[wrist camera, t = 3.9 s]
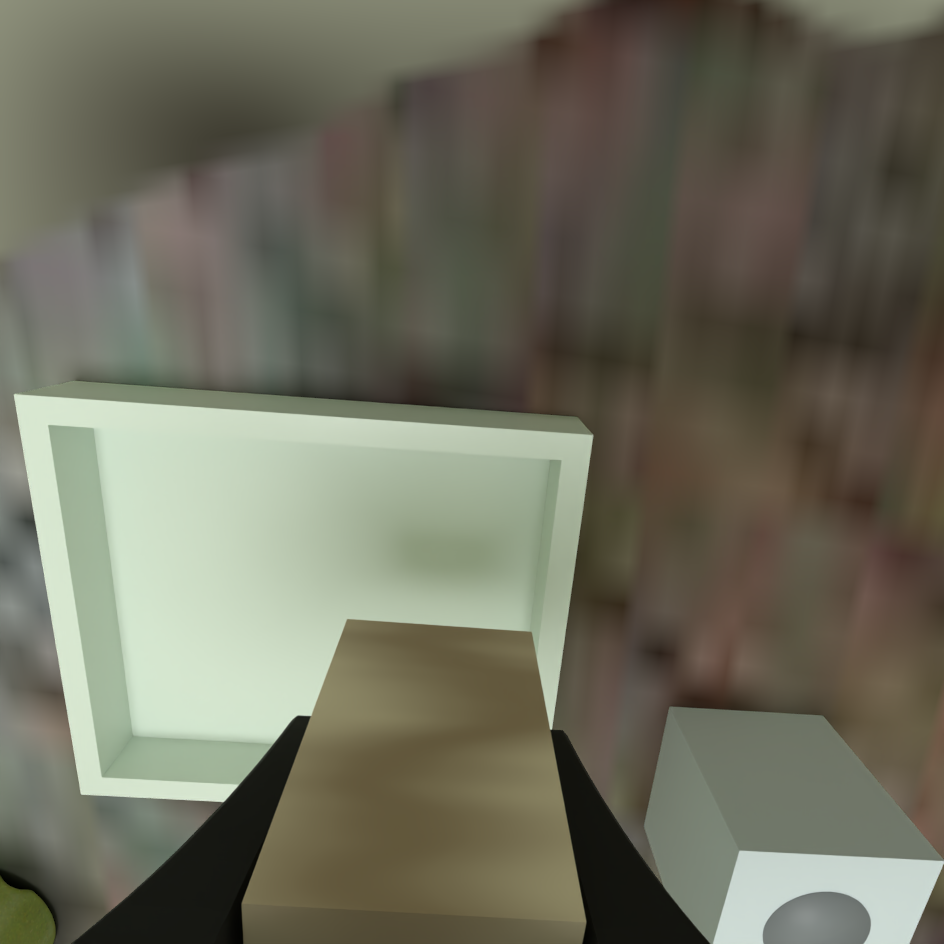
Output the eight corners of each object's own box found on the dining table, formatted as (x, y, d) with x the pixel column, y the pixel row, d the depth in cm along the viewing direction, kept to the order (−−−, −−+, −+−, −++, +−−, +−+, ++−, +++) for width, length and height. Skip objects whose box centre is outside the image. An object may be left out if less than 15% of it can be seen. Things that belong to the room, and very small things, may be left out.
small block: (531, 632, 12) (587, 927, 7) (512, 777, 14) (545, 1135, 8) (347, 618, 12) (240, 907, 6) (344, 766, 13) (250, 1122, 8)
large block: (821, 714, 22) (945, 862, 16) (784, 831, 24) (885, 1003, 18) (669, 705, 22) (740, 852, 16) (643, 824, 24) (699, 995, 18)
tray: (577, 416, 18) (593, 435, 16) (531, 762, 23) (539, 818, 20) (74, 380, 18) (13, 394, 16) (122, 740, 22) (81, 794, 20)
